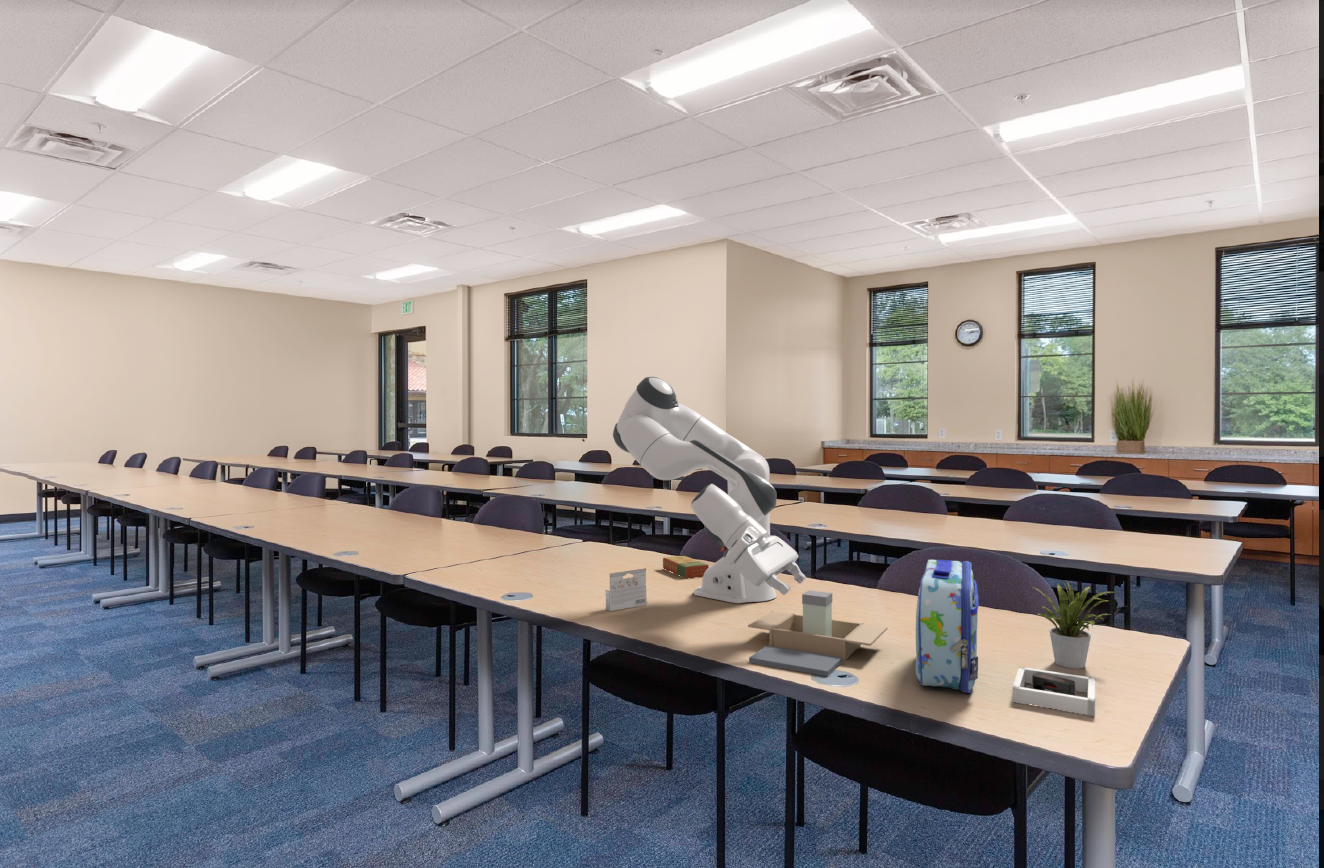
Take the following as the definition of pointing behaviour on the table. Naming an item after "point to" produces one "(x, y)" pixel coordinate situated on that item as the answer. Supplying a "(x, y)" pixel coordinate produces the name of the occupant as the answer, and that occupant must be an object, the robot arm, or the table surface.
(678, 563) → the carton
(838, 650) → the open cardboard box
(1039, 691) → the dish
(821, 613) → the block
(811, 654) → the slate mat
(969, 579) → the lunch box
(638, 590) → the ink cartridge box
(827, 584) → the table surface
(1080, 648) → the house plant
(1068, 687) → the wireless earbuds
